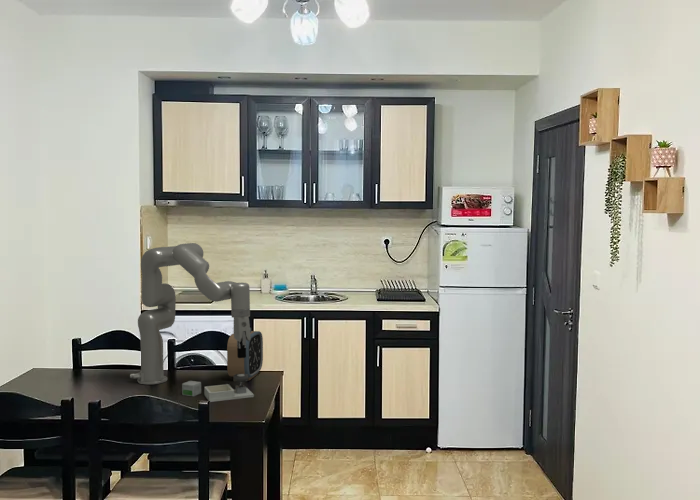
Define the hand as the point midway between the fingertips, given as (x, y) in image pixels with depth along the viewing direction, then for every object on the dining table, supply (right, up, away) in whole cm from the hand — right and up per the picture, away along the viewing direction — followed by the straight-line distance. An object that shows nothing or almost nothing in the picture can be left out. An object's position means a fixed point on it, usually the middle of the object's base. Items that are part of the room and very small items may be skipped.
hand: (241, 357), depth 273 cm
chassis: (-5, -16, -1) cm, 16 cm away
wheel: (-1, -12, +1) cm, 12 cm away
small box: (-21, -16, +2) cm, 26 cm away
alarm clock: (-3, -14, +30) cm, 33 cm away
